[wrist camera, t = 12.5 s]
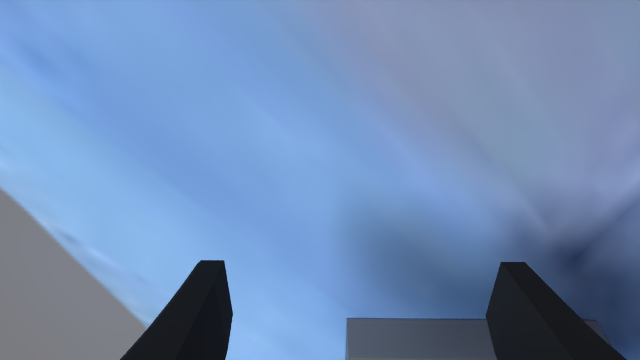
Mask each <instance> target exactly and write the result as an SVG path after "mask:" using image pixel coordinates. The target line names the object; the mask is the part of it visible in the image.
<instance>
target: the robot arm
mask: <svg viewBox="0 0 640 360" xmlns="http://www.w3.org/2000/svg"><path fill="white" fill-rule="evenodd" d="M232 316H233V312H232V306H231V300H230V294H229V287H228V281H227V275H226V269H225V263H224V261H223V260H201V261H200V262H199V263H198V264H197V265H196V266H195V268H194V269H193V271H192V272H191V273H190V275H189V276H188V278H187V279H186V280H185V282H184V283H183V284H182V286H181V287H180V288H179V290H178V291H177V292H176V294H175V295H174V296H173V298H172V299H171V300H170V302H169V303H168V304H167V305H166V307H165V308H164V309H163V310H162V312H161V313H160V314H159V315H158V317H157V318H156V319H155V320H154V322H153V323H152V324H151V325H150V326H149V328H148V329H147V330H146V331H145V332H144V333H143V335H142V336H141V337H140V338H139V339H138V340H137V341H136V342H135V343H134V345H133V346H132V347H131V348H130V349H129V350H128V351H127V353H126V354H125V355H124V356H123V357H122V358H121V359H120V360H225V358H226V354H227V350H228V343H229V337H230V330H231V323H232ZM486 319H487V323H488V327H489V332H490V336H491V340H492V344H493V348H494V352H495V355H496V358H497V360H626V359H625V358H624V357H623V356H622V355H621V354H619V353H618V352H617V351H616V350H615V349H614V348H612V347H611V346H610V345H609V344H608V343H607V342H606V341H605V340H603V339H602V338H601V337H600V336H599V335H598V334H597V333H596V332H595V331H594V330H593V329H592V328H590V327H589V326H588V325H587V324H586V323H585V322H584V321H583V320H582V319H581V318H580V317H579V316H578V315H577V314H576V313H575V312H574V311H573V310H572V309H571V308H570V307H569V306H568V305H567V304H566V303H565V302H564V301H563V300H562V299H561V298H560V297H559V296H558V295H557V294H556V293H555V292H554V291H553V290H552V289H551V288H550V287H549V286H548V285H547V284H546V283H545V282H544V281H543V280H542V279H541V278H540V277H539V276H538V275H537V274H536V273H535V272H534V271H533V270H532V269H531V268H530V267H529V266H528V265H527V264H526V263H525V262H501V264H500V267H499V271H498V274H497V278H496V281H495V285H494V288H493V292H492V296H491V299H490V303H489V306H488V310H487V313H486Z"/></svg>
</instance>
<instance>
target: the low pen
mask: <svg viewBox="0 0 640 360" xmlns="http://www.w3.org/2000/svg"><path fill="white" fill-rule="evenodd" d="M583 321H584V322H585V323H586V324H587V325H588V326H589V327H590V328H592V329H593V330H594V331H595V332H596V333H597V334H598V335H599V336H600V337H601V338H602V339H603V340H605V341H606V342H607V343H608V344H609V345H610V346H611V344H610V343H609V341H608V339H607V338H606V336H605V334H604V333H603V331H602V329H601V328H600V326H599V324H598V323H597V321H591V320H583ZM611 347H612V346H611ZM345 360H497V358H496V355H495V352H494V348H493V344H492V340H491V336H490V332H489V327H488V323H487V320H465V319H347V329H346V356H345Z"/></svg>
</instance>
